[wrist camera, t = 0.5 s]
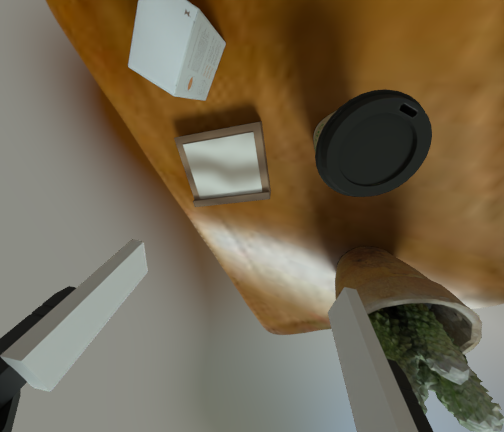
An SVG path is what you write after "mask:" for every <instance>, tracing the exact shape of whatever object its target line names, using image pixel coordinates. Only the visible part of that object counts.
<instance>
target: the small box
mask: <svg viewBox="0 0 504 432" xmlns="http://www.w3.org/2000/svg"><path fill="white" fill-rule="evenodd" d="M225 45H226V43H225V41H224V40H223V39H222V37H221V36H220V35H219V34H218V32H217V31H216V30H215V29H214V27H213V26H212V25H211V23H210V22H209V21H208V19H207V18H206V17H205V15H204V14H203V13H202V12H201V10H200V9H199V8H198V7H196V6H195V5H193V4H192V3H190V2H189V1H187V0H138V4H137V11H136V17H135V24H134V30H133V37H132V43H131V50H130V56H129V62H128V67H129V68H130V69H132V70H134V71H135V72H137V73H138V74H140V75H141V76H143V77H144V78H146V79H148V80H149V81H151V82H152V83H154V84H155V85H157V86H159V87H160V88H162V89H163V90H165V91H166V92H168V93H170V94H171V95H173V96H176V97H183V98H190V99H197V100H204V101H205V100H206V98H207V95H208V92H209V89H210V86H211V84H212V81H213V78H214V75H215V72H216V70H217V67H218V64H219V61H220V58H221V56H222V53H223V50H224V48H225Z"/></svg>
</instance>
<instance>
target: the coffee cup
mask: <svg viewBox="0 0 504 432" xmlns="http://www.w3.org/2000/svg"><path fill="white" fill-rule="evenodd" d="M431 138H432V130H431V124H430V121H429V118H428V116H427V114H426V113H425V111H424V109H423V108H422V107H421V105H420V104H419V103H418V102H417V101H416V100H415V99H413V98H412V97H411V96H409V95H407V94H404V93H402V92H399V91H393V90H374V91H370V92H367V93H364V94H361V95H359V96H357V97H355V98H353V99H351V100H349V101H348V102H347V103H345V104H344V105H342V106H341V107H340V108H339V109H338V110H337V111H335V112H333V113H331V114H330V115H328V116H327V117H326V118H324V119H323V120H322V121H321V122H320V123H319V124H318V126H317V127H316V129H315V132H314V136H313V141H314V149H315V153H316V154H315V159H316V166H317V169H318V172H319V175H320V176H321V178H322V179H323V181H324V182H325V183H326V184H327V185H328V186H329V187H330V188H332V189H333V190H335V191H337V192H339V193H341V194H344V195H348V196H354V197H365V196H375V195H380V194H383V193H386V192H389V191H391V190H393V189H395V188H397V187H399V186H400V185H401V184H403V183H404V182H406V181H407V180H408V179H409V178H410V177H411V176H412V175H414V174H415V172H416V171H417V170H418V169H419V167H420V166H421V165H422V163H423V161H424V160H425V158H426V156H427V154H428V151H429V148H430V145H431Z"/></svg>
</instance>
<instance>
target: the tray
mask: <svg viewBox="0 0 504 432" xmlns="http://www.w3.org/2000/svg"><path fill="white" fill-rule="evenodd" d="M174 139H175V142H176V145H177V148H178V151H179V154H180V157H181V160H182V163H183V166H184V169H185V172H186V175H187V178H188V181H189V184H190V187H191V190H192V193H193V196H194V199H195V200H194V201H193V203H194V206H195V207H200V206H210V205H219V204H228V203H237V202H246V201H255V200H265V199H270V194H271V189H270V181H269V174H268V166H267V159H266V151H265V143H264V136H263V128H262V121H259V122H254V123H249V124H244V125H238V126H233V127H228V128H222V129H217V130H212V131H206V132H201V133H196V134H191V135H185V136H180V137H176V138H174Z"/></svg>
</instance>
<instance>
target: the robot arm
mask: <svg viewBox="0 0 504 432" xmlns="http://www.w3.org/2000/svg"><path fill="white" fill-rule="evenodd" d="M147 272H148V269H147V263H146V255H145V248H144V242H142V241H138V240H133V239H132V240H131V241H129V242H128V243H127V244H126V245H125V246H124V247H123V248H121V249H120V250H119V251H118V252H117V253H116V254H115V255H114V256H112V257H111V258H110V259H109V260H108V261H107V262H106V263H104V264H103V265H102V266H101V267H100V268H99V269H98V270H97V271H95V272H94V273H93V274H92V275H91V276H90V277H89V278H88V279H87V280H85V281H84V282H83V283H82V284H81V285H80V286H78V288H75V287H70V286H69V287H67V288H65V289H63V290H61V291H59V292H57V293H56V294H54V295H53V296H52V297H51V298H49V299H48V300H47V301H46V302H44V303H43V305H42V306H40V307H38V308H37V309H36V310H35V311H33V312H32V314H31V315H29V316H27V317H26V318H25V319H24V320H22V321H21V322H20V323H19V324H18V325H16V326H15V327H14V328H13V329H12V330H10V331H9V332H8V333H7V334H5V335H4V336H3V337H2V338H1V339H0V432H11V431H12V427H13V423H14V418H15V415H16V411H17V407H18V403H19V398H20V389H21V388H22V387H23V386H24V385H25V383H26V382H27V383H28V384H29V385H31V386H32V387H33V388H36V389H40V390H45V391H49V392H51V391H52V390H53V388H54V387H55V386H56V385H57V383H58V382H59V381H60V380H61V378H62V377H63V376H64V375H65V374H66V372H67V371H68V370H69V369H70V367H71V366H72V365H73V363H74V362H75V361H76V360H77V359H78V357H79V356H80V355H81V354H82V353H83V351H84V350H85V349H86V348H87V346H88V345H89V344H90V343H91V341H92V340H93V339H94V338H95V336H96V335H97V334H98V333H99V332H100V330H101V329H102V328H103V326H104V325H105V324H106V323H107V322H108V320H109V319H110V318H111V317H112V315H113V314H114V313H115V312H116V310H117V309H118V308H119V307H120V305H121V304H122V303H123V302H124V300H125V299H126V298H127V297H128V296H129V294H130V293H131V292H132V291H133V289H134V288H135V287H136V286H137V284H138V283H139V282H140V281H141V279H142V278H143V277H144V276H145V275H146V273H147ZM328 315H329V320H330V324H331V328H332V332H333V336H334V340H335V343H336V348H337V352H338V356H339V360H340V364H341V368H342V372H343V377H344V381H345V385H346V389H347V393H348V397H349V401H350V405H351V409H352V413H353V417H354V422H355V425H356V430H357V432H433V430H432V428H431V426H430V424H429V422H428V420H427V418H426V416H425V414H424V411H423V409H422V407H421V405H419V401H418V399H417V397H416V395H415V393H414V392H413V389H412V387H411V384H410V382H409V380H408V378H407V376H406V374H405V373H404V372H403V370H402V369H401V368H400V366H399V365H398V364H397V362H396V361H394V360H390V359H386V356H385V354H384V352H383V350H382V347H381V345H380V343H379V340H378V338H377V336H376V333H375V331H374V329H373V327H372V324H371V322H370V320H369V317H368V315H367V313H366V311H365V308H364V306H363V304H362V301H361V299H360V297H359V294H358V292H357V290H356V289H351V288H347V287H344V288H343V290H342V291H341V293H340V295H339V296H338V298H337V299H336V301H335V302H334V304H333V305H332V307H331V308H330V310H329V311H328Z"/></svg>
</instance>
